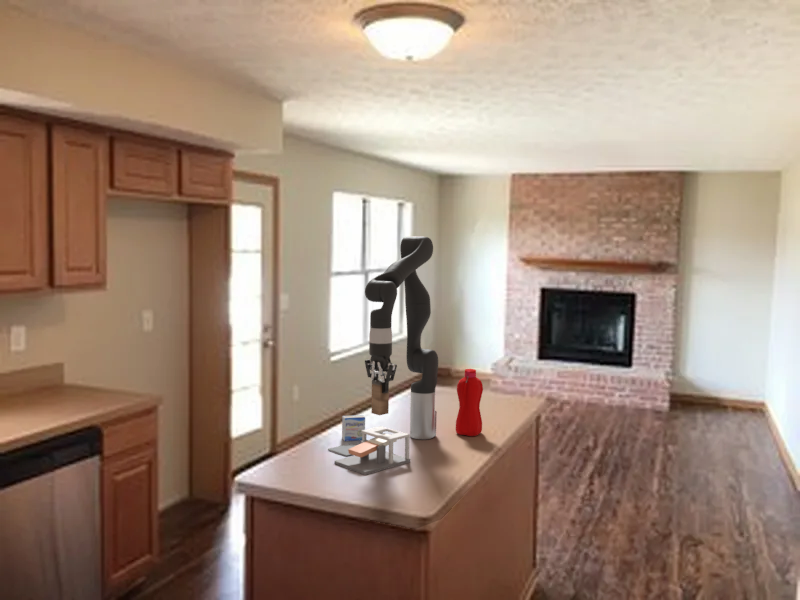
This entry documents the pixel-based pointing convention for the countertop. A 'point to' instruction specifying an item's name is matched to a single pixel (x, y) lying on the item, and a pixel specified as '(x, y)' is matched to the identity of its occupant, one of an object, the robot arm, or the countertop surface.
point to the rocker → (368, 446)
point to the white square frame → (378, 453)
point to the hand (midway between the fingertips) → (380, 391)
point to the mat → (342, 449)
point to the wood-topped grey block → (379, 398)
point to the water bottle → (469, 404)
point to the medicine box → (352, 427)
